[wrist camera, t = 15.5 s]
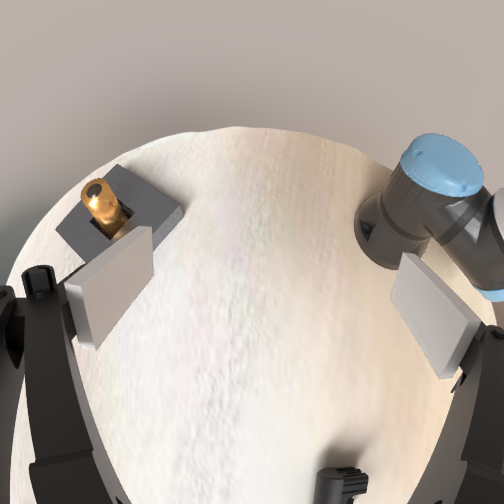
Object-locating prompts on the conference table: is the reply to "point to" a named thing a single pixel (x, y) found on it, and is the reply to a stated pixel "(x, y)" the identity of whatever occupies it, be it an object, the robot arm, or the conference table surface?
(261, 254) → the conference table surface
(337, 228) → the conference table surface
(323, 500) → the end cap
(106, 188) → the bushing
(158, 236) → the jig
